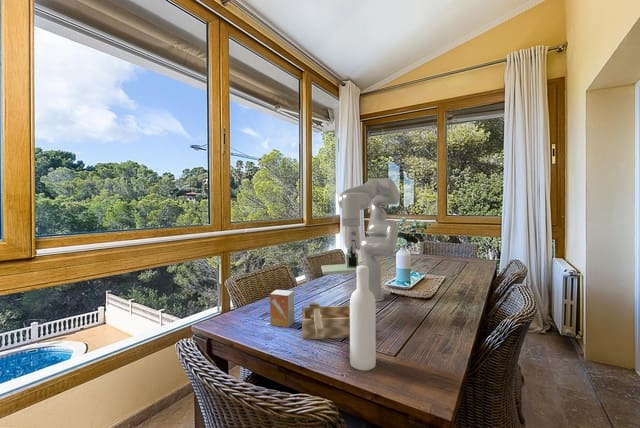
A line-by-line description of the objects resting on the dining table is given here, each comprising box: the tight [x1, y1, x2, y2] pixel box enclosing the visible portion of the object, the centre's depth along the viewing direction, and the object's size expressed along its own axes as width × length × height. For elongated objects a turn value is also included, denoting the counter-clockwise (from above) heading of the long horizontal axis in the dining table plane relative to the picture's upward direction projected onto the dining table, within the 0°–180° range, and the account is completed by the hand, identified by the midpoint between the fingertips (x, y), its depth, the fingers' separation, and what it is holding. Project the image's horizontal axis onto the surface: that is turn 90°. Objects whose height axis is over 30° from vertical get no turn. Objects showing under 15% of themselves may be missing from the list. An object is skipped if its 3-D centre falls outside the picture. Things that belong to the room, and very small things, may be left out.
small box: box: [269, 289, 295, 329], centre depth 119 cm, size 8×6×13 cm
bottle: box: [349, 265, 377, 371], centre depth 88 cm, size 8×8×30 cm
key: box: [314, 309, 325, 340], centre depth 95 cm, size 2×16×3 cm, turn 5°
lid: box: [320, 252, 371, 276], centre depth 124 cm, size 20×10×7 cm, turn 94°
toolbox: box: [301, 301, 350, 340], centre depth 112 cm, size 20×15×8 cm
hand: (351, 265), depth 124 cm, fingers closed on lid, 2 cm apart
